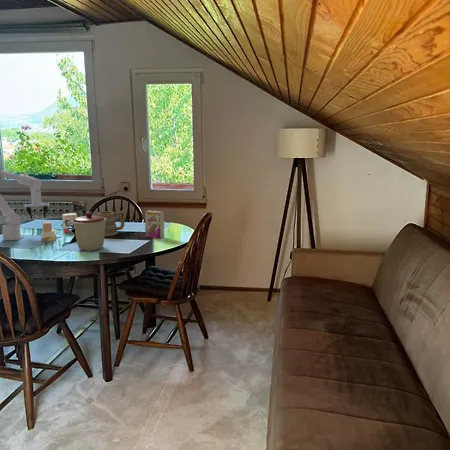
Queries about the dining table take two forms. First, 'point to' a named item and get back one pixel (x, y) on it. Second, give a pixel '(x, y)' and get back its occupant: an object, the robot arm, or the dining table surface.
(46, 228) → the terracotta block
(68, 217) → the ink box
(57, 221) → the dining table surface
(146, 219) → the candy bar box
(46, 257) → the dining table surface
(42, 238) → the beech slab
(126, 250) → the dining table surface
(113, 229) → the tankard
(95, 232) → the canister
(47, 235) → the off-white slab
